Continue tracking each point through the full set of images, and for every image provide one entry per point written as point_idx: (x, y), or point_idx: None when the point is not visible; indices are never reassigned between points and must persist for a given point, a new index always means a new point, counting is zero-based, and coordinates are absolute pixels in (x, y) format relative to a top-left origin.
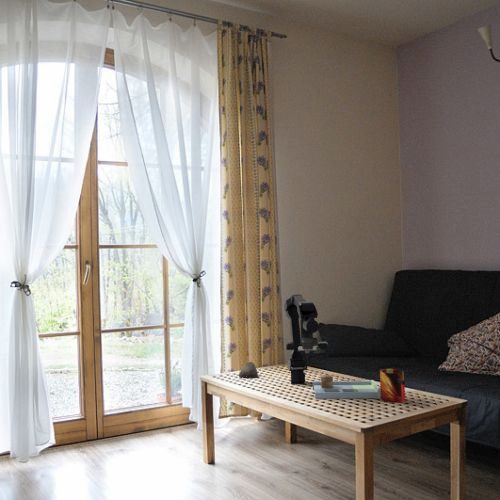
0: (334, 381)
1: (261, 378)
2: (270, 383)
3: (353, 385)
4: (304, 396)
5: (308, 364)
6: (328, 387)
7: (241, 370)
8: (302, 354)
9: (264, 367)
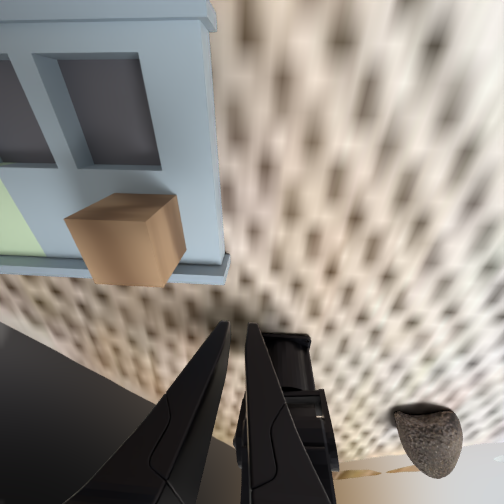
0: None
1: (389, 399)
2: (383, 352)
3: (34, 247)
4: (285, 102)
5: (226, 325)
6: (136, 195)
7: (462, 440)
8: (316, 496)
9: (341, 460)
